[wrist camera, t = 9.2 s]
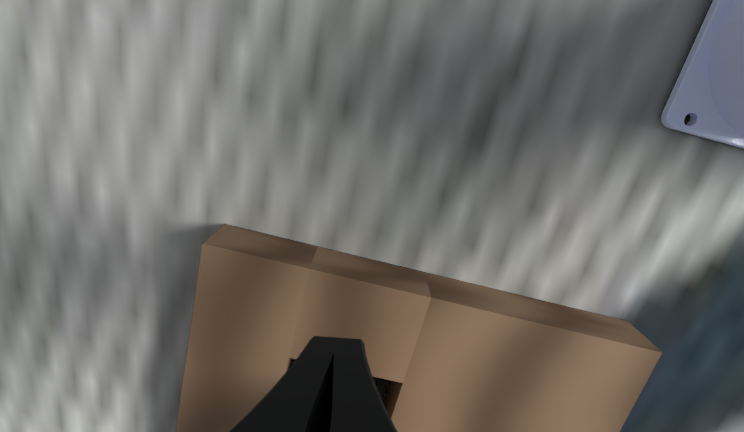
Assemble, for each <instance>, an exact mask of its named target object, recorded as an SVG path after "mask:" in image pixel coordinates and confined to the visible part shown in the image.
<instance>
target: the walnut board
mask: <svg viewBox="0 0 744 432" xmlns="http://www.w3.org/2000/svg"><path fill="white" fill-rule="evenodd" d="M314 336H324V337H338V338H352V339H361V340H362V341H363V342H364V343H365V352H366V357H367V361H368V364H369V367H370V371H371V374H372V376H373V377H378V378H382V379H386V380H390V382H389V385H388V388H387V391H386V394H385V397H384V400H383V403H384V406H385V408H386V410H387V412H388V414H389V416H390V418H391V420H392V422H393V424H394V426H395V428H396V430H397V431H398V432H619V431H620V430H621V428H622V426H623V424H624V422H625V420H626V419H627V417H628V415H629V413H630V411H631V409H632V408H633V406H634V404H635V402H636V400H637V398H638V397H639V395H640V393H641V391H642V389H643V387H644V385H645V384H646V382H647V380H648V378H649V376H650V374H651V373H652V371H653V369H654V367H655V365H656V363H657V362H658V360H659V358H660V356H661V354H662V352H661V351H660V350H659V349H658V348H657V347H656V346H655V345H653V344H652V343H651V342H650V341H649V340H648V339H647V338H646V337H645V336H644V335H642V334H641V333H640V332H639V331H638V330H637V329H636V328H635V327H634V326H633V325H631V324H630V323H629V322H628V321H624V320H620V319H616V318H612V317H608V316H604V315H599V314H595V313H591V312H587V311H583V310H579V309H575V308H570V307H566V306H562V305H558V304H554V303H550V302H546V301H541V300H537V299H533V298H529V297H525V296H521V295H517V294H512V293H508V292H504V291H500V290H496V289H492V288H488V287H483V286H479V285H475V284H471V283H467V282H463V281H459V280H454V279H450V278H446V277H442V276H438V275H434V274H430V273H425V272H421V271H417V270H413V269H409V268H405V267H401V266H396V265H392V264H388V263H384V262H380V261H376V260H371V259H367V258H363V257H359V256H355V255H351V254H347V253H342V252H338V251H334V250H330V249H326V248H322V247H318V246H313V245H309V244H305V243H301V242H297V241H293V240H289V239H284V238H280V237H276V236H272V235H268V234H264V233H260V232H255V231H251V230H247V229H243V228H239V227H235V226H231V225H226V224H224V225H223V226H222V227H221V228H219V229H218V230H217V231H216V232H215V233H214V234H212V235H211V236H210V237H209V238H208V239H207V240H205V241H204V242H203V243H202V248H201V255H200V262H199V269H198V277H197V284H196V291H195V298H194V305H193V312H192V319H191V326H190V333H189V340H188V347H187V354H186V362H185V369H184V376H183V383H182V390H181V397H180V404H179V411H178V418H177V425H176V432H229V431H230V430H231V429H232V428H233V427H234V426H235V425H236V424H238V423H239V422H240V421H241V420H242V419H243V418H244V417H245V416H246V415H247V414H248V413H249V412H250V411H251V410H252V409H253V408H254V407H255V406H256V405H257V404H258V403H259V402H260V401H261V400H262V399H263V398H264V396H265V395H266V394H267V393H268V392H269V391H270V390H271V389H272V388H273V387H274V386H275V385H276V383H277V382H278V381H279V380H280V379H281V377H282V376H283V375H284V374H285V373H286V372H287V370H288V369H289V368H290V365H291V360H292V359H297V358H298V356H299V355H300V354H301V352H302V351H303V349H304V348H305V347H306V345H307V344H308V342H309V340H310V339H311V338H313V337H314Z"/></svg>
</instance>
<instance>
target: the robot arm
mask: <svg viewBox="0 0 744 432" xmlns="http://www.w3.org/2000/svg"><path fill="white" fill-rule="evenodd" d="M688 114H689V115H690V121H689V122H688V123H687V124H686V125H685V123H684V119H685V117H686V115H688ZM661 121H662V123H663V125H664V126H665V127H667V128H670V129H674V130H678V131H681V132H685V133H688V134H692V135H696V136H699V137H703V138H707V139H710V140H714V141H718V142H721V143H725V144H729V145H732V146H736V147H740V148H743V149H744V0H713V2H712V4H711V6H710V8H709V11H708V13H707V15H706V17H705V19H704V22H703V24H702V26H701V28H700V30H699V33H698V35H697V37H696V39H695V42H694V44H693V46H692V48H691V50H690V53H689V55H688V57H687V59H686V61H685V64H684V66H683V68H682V70H681V73H680V75H679V77H678V79H677V81H676V84H675V86H674V88H673V90H672V92H671V95H670V97H669V99H668V101H667V103H666V106H665V108H664V110H663V112H662V116H661ZM229 432H398V431H397V430H396V428H395V426H394V424H393V422H392V420H391V418H390V416H389V414H388V412H387V410H386V408H385V406H384V403H383V401H382V399H381V397H380V394H379V392H378V389H377V387H376V384H375V382H374V379H373V377H372V374H371V371H370V367H369V364H368V361H367V357H366V352H365V343H364V342H363V341H362V340H361V339H352V338H338V337H324V336H314V337H313V338H311V339H310V340H309V342H308V344H307V345H306V347H305V348H304V349H303V351H302V352H301V354H300V355H299V356H298V358H297V359H296V360H295V362H294V363H293V364H292V365H291V367H290V368H289V369H288V370H287V372H286V373H285V374H284V375H283V376H282V377H281V379H280V380H279V381H278V382H277V383H276V385H275V386H274V387H273V388H272V389H271V390H270V391H269V392H268V393H267V394H266V395H265V396H264V398H263V399H262V400H261V401H260V402H259V403H258V404H257V405H256V406H255V407H254V408H253V409H252V410H251V411H250V412H249V413H248V414H247V415H246V416H245V417H244V418H243V419H242V420H241V421H240V422H239V423H238V424H236V425H235V426H234V427H233V428H232V429H231V430H230V431H229Z"/></svg>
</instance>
